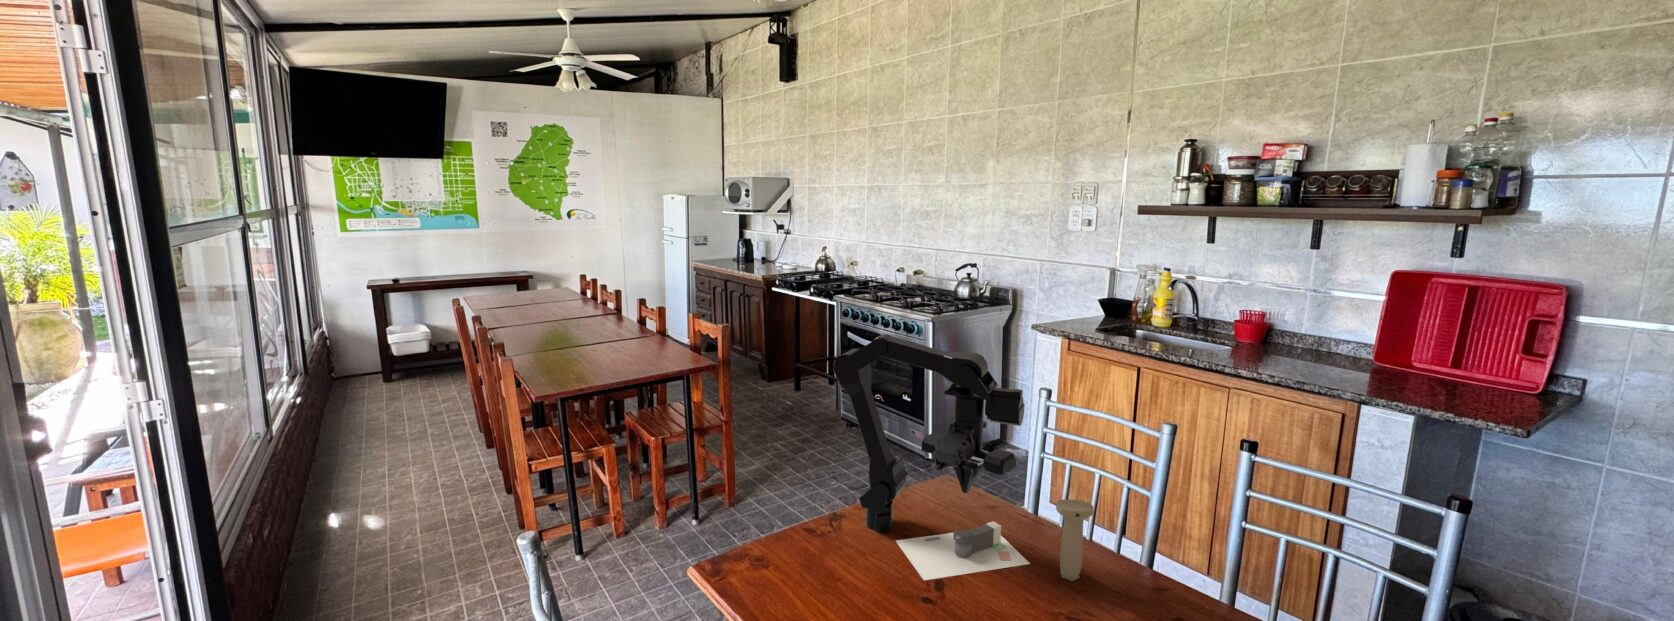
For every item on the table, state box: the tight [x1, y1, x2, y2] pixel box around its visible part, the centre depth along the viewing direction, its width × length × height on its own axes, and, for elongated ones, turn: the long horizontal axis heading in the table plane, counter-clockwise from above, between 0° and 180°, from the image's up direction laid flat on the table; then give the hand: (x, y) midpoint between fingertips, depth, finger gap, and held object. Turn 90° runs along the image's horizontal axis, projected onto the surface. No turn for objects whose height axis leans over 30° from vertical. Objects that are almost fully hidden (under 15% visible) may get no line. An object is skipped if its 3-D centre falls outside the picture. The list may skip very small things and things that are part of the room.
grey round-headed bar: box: [953, 521, 1002, 557], centre depth 137 cm, size 11×4×4 cm, turn 122°
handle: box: [1055, 498, 1094, 581], centre depth 128 cm, size 5×6×15 cm
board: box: [895, 532, 1031, 581], centre depth 137 cm, size 15×22×1 cm
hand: (965, 492), depth 138 cm, fingers closed
